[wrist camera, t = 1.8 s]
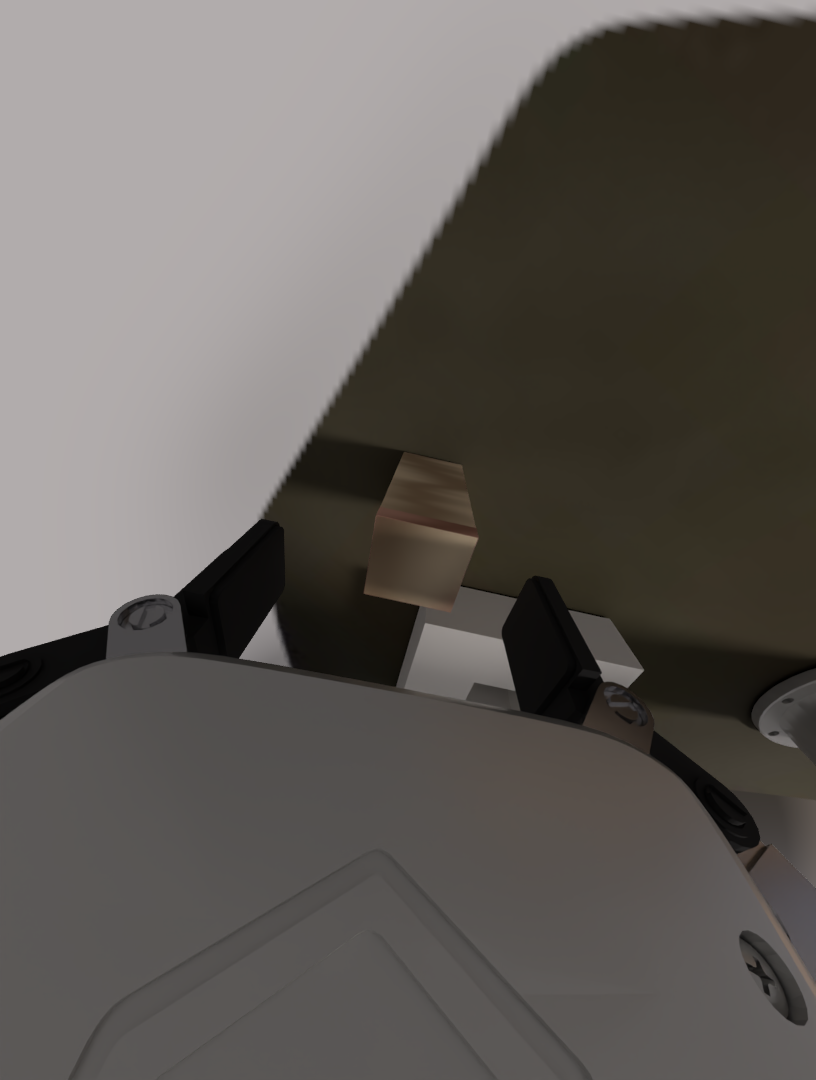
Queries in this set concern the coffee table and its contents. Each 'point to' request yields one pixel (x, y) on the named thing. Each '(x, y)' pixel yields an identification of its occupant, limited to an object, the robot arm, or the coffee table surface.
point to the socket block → (493, 650)
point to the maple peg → (422, 535)
